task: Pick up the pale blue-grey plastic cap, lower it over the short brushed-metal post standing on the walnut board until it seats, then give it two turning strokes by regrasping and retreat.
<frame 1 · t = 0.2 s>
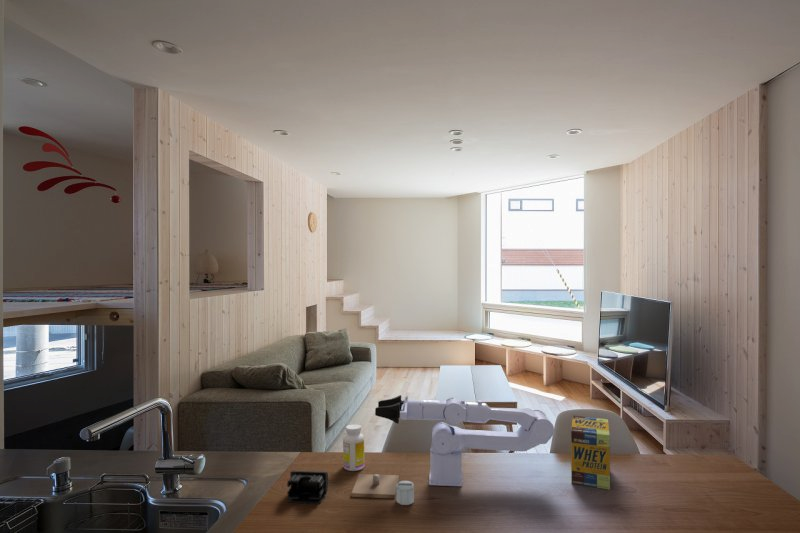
hand: (376, 408, 142), 21 cm above the worktop, tool horizontal, fingers open, 7 cm apart
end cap: (307, 498, 131), on the worktop
cap: (405, 500, 129), on the worktop
protein box: (590, 476, 142), on the worktop
post board: (376, 487, 137), on the worktop
supplement bottle: (354, 468, 150), on the worktop
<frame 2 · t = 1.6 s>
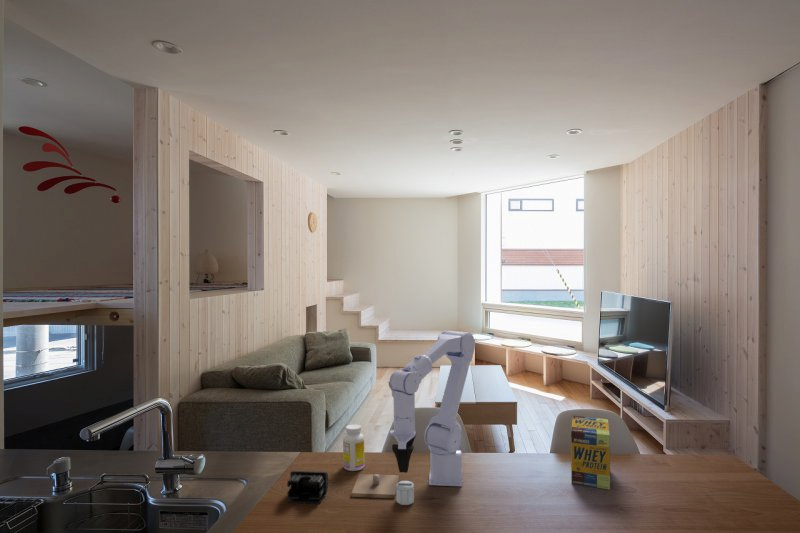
hand: (404, 465, 129), 9 cm above the worktop, tool pointing down, fingers open, 7 cm apart
nothing on the worktop moved.
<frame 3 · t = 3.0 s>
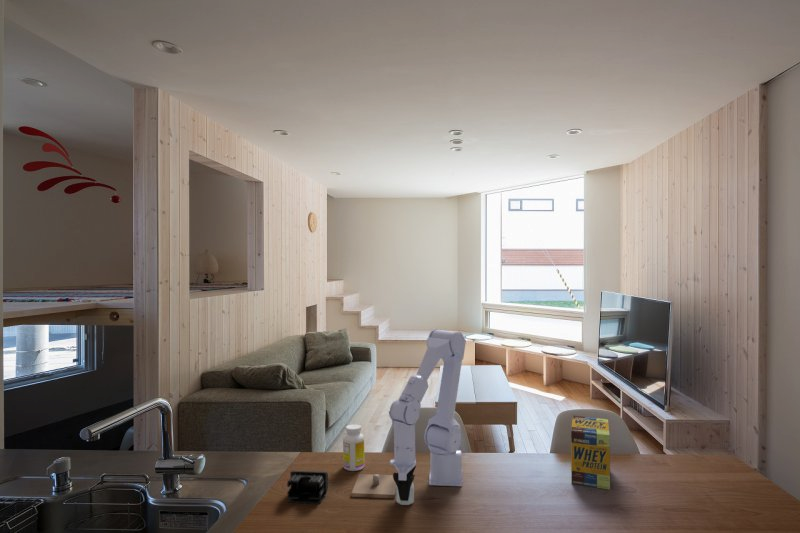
hand: (405, 495, 129), 1 cm above the worktop, tool pointing down, fingers closed on cap, 5 cm apart
cap: (405, 500, 129), on the worktop, touching gripper
everything else where it was.
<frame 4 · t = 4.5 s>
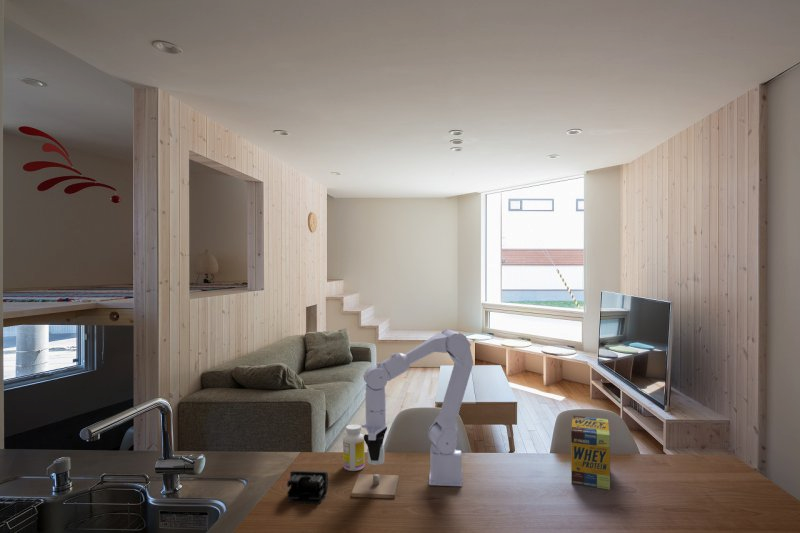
hand: (376, 456, 136), 9 cm above the worktop, tool pointing down, fingers closed on cap, 5 cm apart
cap: (375, 461, 136), point 7 cm above the worktop, touching gripper
everything else where it was.
when the fingers open (4 cm above the worktop, at t = 6.2 s): cap drops 1 cm, resting on post board.
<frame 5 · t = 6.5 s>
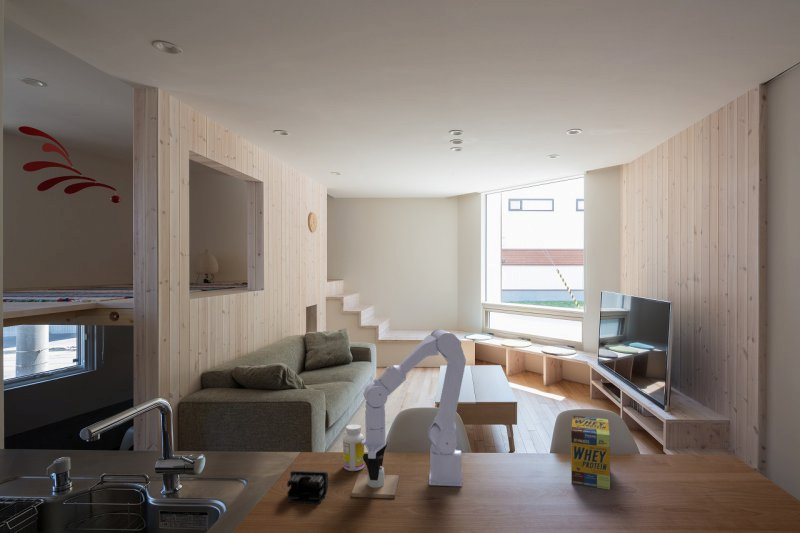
hand: (376, 473, 137), 4 cm above the worktop, tool pointing down, fingers open, 7 cm apart
cap: (376, 483, 137), point 1 cm above the worktop, touching post board
everything else where it was.
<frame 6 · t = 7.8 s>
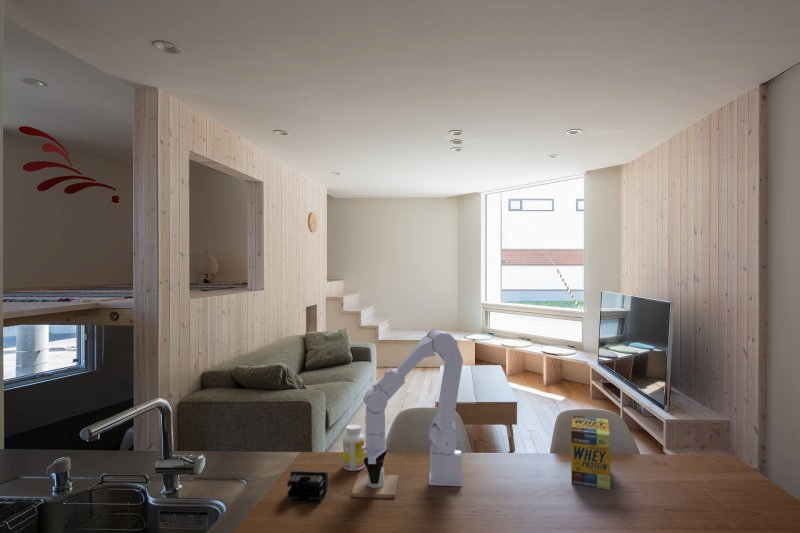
hand: (376, 479, 137), 2 cm above the worktop, tool pointing down, fingers closed on cap, 5 cm apart
cap: (376, 483, 137), point 1 cm above the worktop, touching gripper
everything else where it was.
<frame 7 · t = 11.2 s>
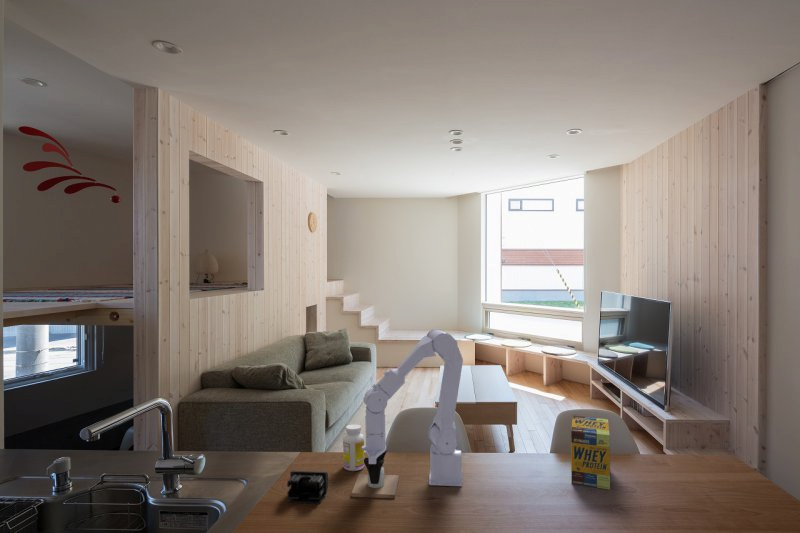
hand: (376, 479, 137), 2 cm above the worktop, tool pointing down, fingers closed on cap, 5 cm apart
cap: (376, 483, 137), point 1 cm above the worktop, touching gripper
everything else where it was.
when the fingers open (2 cm above the worktop, at t = 12.0 s): cap stays where it is, resting on post board.
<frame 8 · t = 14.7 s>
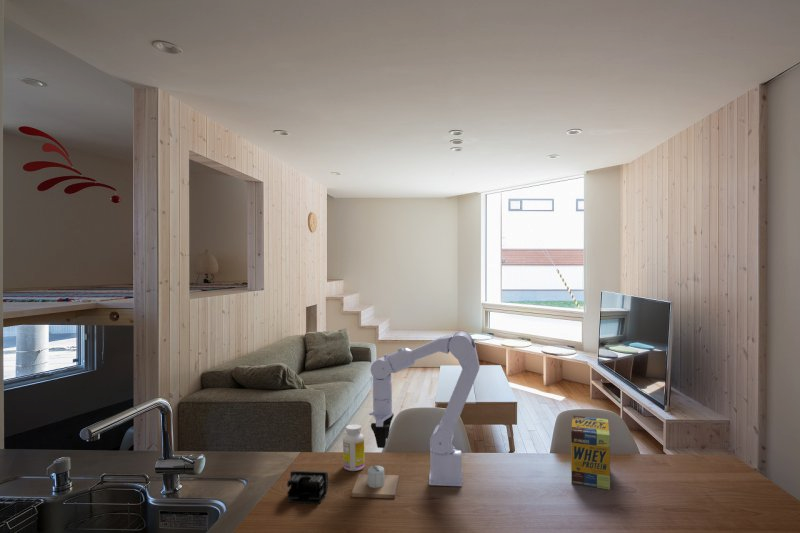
hand: (382, 442, 144), 10 cm above the worktop, tool pointing down, fingers open, 7 cm apart
cap: (376, 483, 137), point 1 cm above the worktop, touching post board
everything else where it was.
at the end: cap 0.0 cm from the post board (horizontally); cap point 1.0 cm above the worktop; the gripper is holding nothing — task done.
